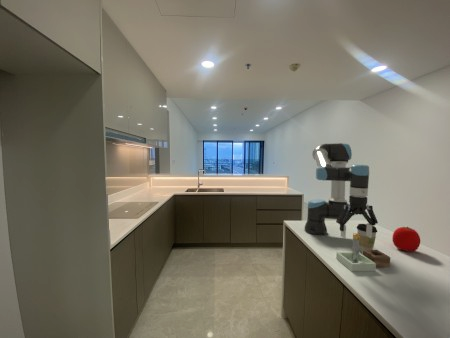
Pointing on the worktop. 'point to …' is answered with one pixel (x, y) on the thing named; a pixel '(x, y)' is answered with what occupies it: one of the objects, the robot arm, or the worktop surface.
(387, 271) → the worktop surface
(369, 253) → the socket block
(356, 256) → the pin
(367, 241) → the coffee cup
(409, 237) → the tomato
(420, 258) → the worktop surface
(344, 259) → the tray
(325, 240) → the worktop surface
